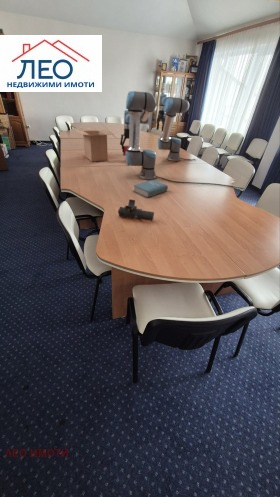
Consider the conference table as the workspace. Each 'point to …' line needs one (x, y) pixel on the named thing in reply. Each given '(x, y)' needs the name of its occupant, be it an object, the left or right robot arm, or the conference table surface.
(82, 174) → the conference table surface
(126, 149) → the canister
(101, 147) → the box
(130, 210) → the laser sight
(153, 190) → the book
